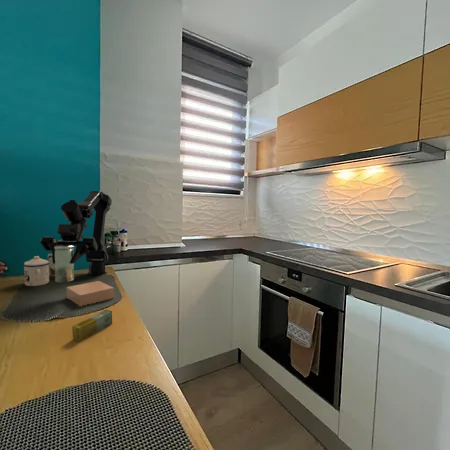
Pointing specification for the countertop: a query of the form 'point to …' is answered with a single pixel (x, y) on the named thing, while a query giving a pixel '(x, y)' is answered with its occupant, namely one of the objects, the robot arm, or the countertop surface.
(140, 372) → the countertop surface
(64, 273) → the sage tin
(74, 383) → the countertop surface
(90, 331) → the medication box
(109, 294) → the terracotta base
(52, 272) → the food container
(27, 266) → the teacup with lid
